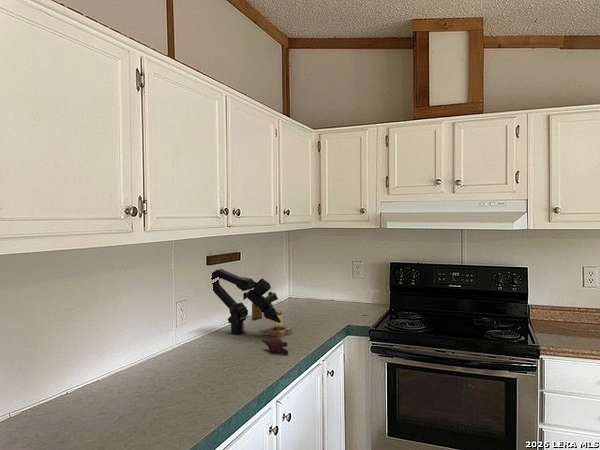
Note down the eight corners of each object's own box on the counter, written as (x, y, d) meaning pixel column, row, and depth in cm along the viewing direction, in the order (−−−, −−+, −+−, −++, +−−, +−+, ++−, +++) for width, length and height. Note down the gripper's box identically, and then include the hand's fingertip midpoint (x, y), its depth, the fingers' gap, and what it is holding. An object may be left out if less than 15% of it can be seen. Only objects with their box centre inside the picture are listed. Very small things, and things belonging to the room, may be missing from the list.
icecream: (255, 337, 192) (281, 346, 183) (266, 329, 197) (292, 337, 189) (257, 350, 194) (283, 360, 185) (268, 342, 199) (293, 351, 190)
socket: (281, 338, 212) (281, 332, 212) (265, 335, 217) (265, 329, 217) (292, 333, 220) (292, 327, 220) (276, 330, 226) (276, 325, 225)
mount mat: (274, 332, 222) (274, 332, 222) (261, 330, 227) (261, 329, 227) (284, 328, 229) (284, 328, 229) (271, 326, 234) (271, 325, 234)
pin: (279, 336, 216) (279, 312, 215) (272, 335, 218) (272, 311, 218) (284, 334, 219) (284, 311, 219) (277, 332, 222) (277, 310, 221)
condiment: (258, 316, 258) (258, 297, 258) (266, 319, 251) (266, 299, 251) (248, 318, 253) (248, 298, 253) (256, 321, 247) (256, 300, 247)
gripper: (270, 291, 208) (292, 312, 210) (266, 284, 227) (287, 304, 229) (254, 307, 207) (277, 329, 209) (251, 300, 225) (272, 319, 228)
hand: (279, 319), depth 219 cm, fingers open, 9 cm apart
